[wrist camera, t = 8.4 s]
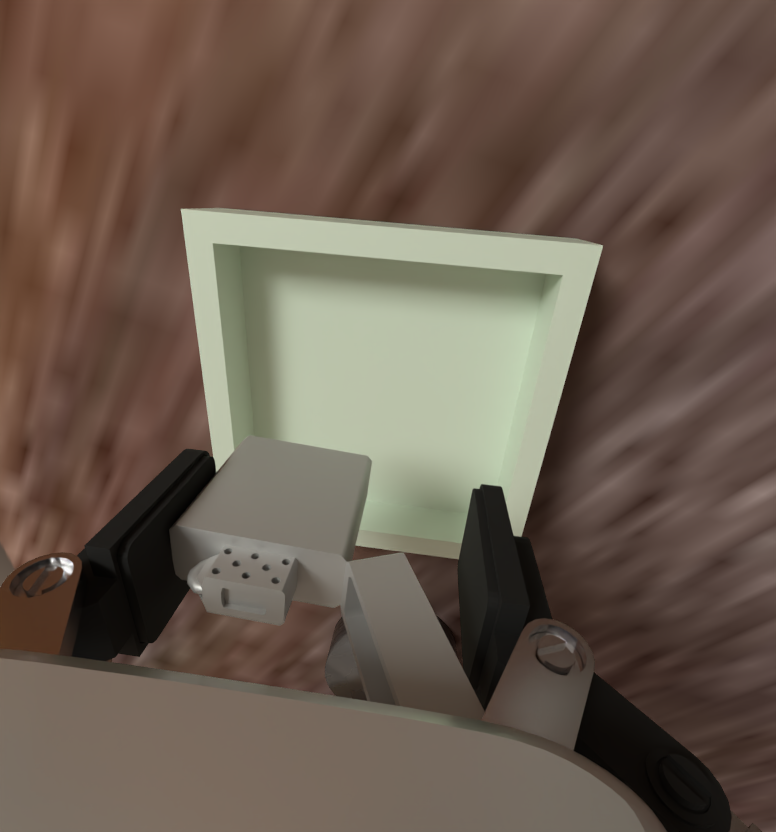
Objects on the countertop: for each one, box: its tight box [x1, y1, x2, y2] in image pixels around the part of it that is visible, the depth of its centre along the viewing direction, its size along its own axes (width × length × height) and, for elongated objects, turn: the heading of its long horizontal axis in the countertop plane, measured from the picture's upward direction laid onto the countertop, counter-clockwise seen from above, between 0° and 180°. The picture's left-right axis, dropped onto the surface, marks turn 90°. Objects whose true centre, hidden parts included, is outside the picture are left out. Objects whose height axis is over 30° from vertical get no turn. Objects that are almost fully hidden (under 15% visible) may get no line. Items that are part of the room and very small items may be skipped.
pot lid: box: [325, 617, 456, 701], centre depth 26 cm, size 8×8×4 cm
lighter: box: [169, 435, 485, 720], centre depth 10 cm, size 7×2×8 cm, turn 82°
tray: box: [181, 208, 603, 559], centre depth 19 cm, size 14×14×3 cm
